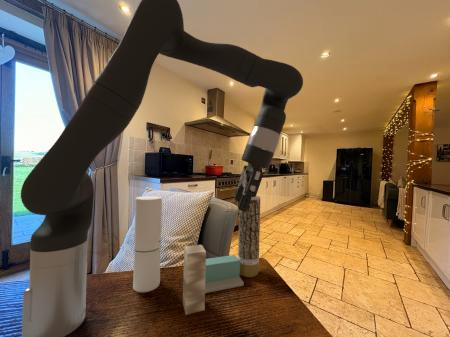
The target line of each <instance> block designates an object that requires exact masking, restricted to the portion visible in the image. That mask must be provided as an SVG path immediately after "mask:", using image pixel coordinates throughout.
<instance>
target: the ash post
mask: <svg viewBox="0 0 450 337" xmlns="http://www.w3.org/2000/svg"><path fill="white" fill-rule="evenodd" d="M206 259H207V252H206V249H205V248H204V246H203V245H202V244H195V245H194V244H193V245H186V246H184V247H183V276H182V277H183V280H182V282H183V284H182V305H183V309H184V314H185V316H186V315H190V314H194V313H199V312H203V311H205V310H206V309H205V308H206V306H205V305H206V302H205V301H206V293H205V273H206Z"/></svg>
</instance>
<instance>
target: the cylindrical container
mask: <svg viewBox="0 0 450 337" xmlns="http://www.w3.org/2000/svg"><path fill="white" fill-rule="evenodd" d="M134 206H135V208H134V210H135V213H134V239H133V240H134V243H133V245H134V246H133V248H134V249H133V272H132V273H133V279H132V280H133V282H132V288H133V290H134V291H135V292H137V293H147V292H148V293H149V292H151V291H153V290H156V289H157V288H158V287H159V286H160V283H161V255H162V254H161V250H162V249H161V248H162V217H163V216H162V213H163V212H162V211H163V209H162V208H163V197H162V196H160V195H159V196H158V195H144V196H136V197H135V205H134Z"/></svg>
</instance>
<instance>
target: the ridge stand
mask: <svg viewBox="0 0 450 337" xmlns="http://www.w3.org/2000/svg"><path fill="white" fill-rule="evenodd" d="M244 285H245V284H244V281H243V279H242V278H241V277H240V260H239V259H238V256H237V255H235V254H232V255H231V254H230V255H227V256H226V255H224V256H216V257H211V258H210V257H209V258H206V273H205V294H207V293H213V292H218V291H223V290H228V289H234V288H238V287H242V286H243V287H244Z"/></svg>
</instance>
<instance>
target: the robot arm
mask: <svg viewBox="0 0 450 337" xmlns="http://www.w3.org/2000/svg"><path fill="white" fill-rule="evenodd" d="M159 54H160V55H162V56H165V57H167V58H171V59H175V60H178V61H182V62H184V63H190V64H193V65H196V66H199V67H201V68H205V69H208V70H211V71H213V72H215V73H218V74H221V75H223V76H226V77H228V78H230V79H232V80H234V81H236V82H238V83H240V84H242V85H244V86H247V87H249V88H256V87H260V88H264V92H263V95H262V100H261V105H260V108H259V109H260V110H259V112H258V114H257V117H256V120H255V123H254V125H253V128H252V130H251V132H250V134H249V136H248V140H247V142H246V144H245V147H244V150H243V153H242V156H241V161H243V162H246V163H247V165H243V169H242V170H241V174H240V177H239V179H238V181H237V191H236V193H235V196H234V201H236V202H238V206H237V209H238V211H239V210H241V211H244V212H246V211H247V209H248V206H249V204H250V201H251V198H253V197H256V196H258V195H257V194H258V191H259V188H260V186H261V182H262V180H263V177H264V172H261V169H262V168H263V169H265V170H268V169H269V168H270V166H271V164H272V161H273V158H274V155H275V154H276V150H277V147H278V144H279V140H280V135H281V133H282V131H283V128H284V125H285V122H286V120H287V114H286V112H285V110H286V105H287V103H288V101H289V99H292V98H293V97H295V96H297V95H298V94H299V93H300V91H301V90H302V88H303V86H304V78H303V75H302V74H301V72H300V71H299V69H298V68H296V67H294V66H292V65H290V64H288V63H285V62H282V61H277V60H274V59H273V60H272V59H268V58H263V57H261V56H259V55H257V54H255V53H254V52H252V51H249V50H247V49H245V48H244V47H240V46H238V45H235V44H231V43H230V44H229V43H220V42H219V43H217V42H216V43H215V42H209V41H204V40H202V39H198V38H196V37H194V36H193V35H191V34H190V33H188V32H187V31H185V26H184V15H183V11H182V9H181V5H180V3H179V1H178V0H140V2H139V3H138V5H137V8H136V9H135V11H134V13H133V15H132V18H131V20H130V22H129V24H128V25H127V28H126V30H125V33H124V35H123V36H122V38H121V40H120V42H119V44H118V45H117V47H116V48H115V50H114V52H112V55H111V56H110V58H109V59H108V60H107V63H106V64H105V65H104V67H103V69H102V71H101V73H99V75H98V76H97V78H96V79H95V81H94V82H93V83H92V84H91V86H90V88H89V90H88V91H87V93H86V94H85V96H84V98H83V99H82V101H81V102H80V104H79V106H78V108H77V110H76V111H75V112H74V114H73V115H72V117H70V118H71V119H70V120H69V121H68V122H67V124H66V126H65V128H64V129H63V130H62V132H61V134H60V135H59V137H58V138H57V140H56V141H55V142H54V144H52V146H51V147H50V149H48V151H47V152H46V153H45V155H44V156H43V157H42V158H41V159H40V160H39V162H37V164H36V165H35V166H34V167H33V169H32V170H31V171H30V172H29V174H27V175H26V178H25V179H24V181H23V183H22V185H21V186H22V187H21V190H20V198H21V199H20V200H21V203H22V204H23V207H24V208H26V210H27V211H28V212H29V213H32V214H34V215H39V216H44V219H43V220H42V223H41V224H40V225H39V226H38V228H37V229H36V230H35V231H34V232H33V233H32V234H31V236H30V242H29V243H30V247H29V249H30V250H29V251H30V252H29V253H30V255H29V256H30V257H29V283H28V284H29V286H28V287H27V288H26V289H25V290H24V291H23V293H22V319H21V320H22V321H21V323H22V324H21V325H22V326H21V337H66V336H67V335H70V334H71V333H72V332H74V331H76V329H78V328H79V327H80V326H81V325H82V324H83V322H84V321H85V319H86V310H87V304H86V298H87V270H88V269H87V268H88V267H87V266H88V241H89V240H88V237H89V236H88V233H89V230H90V227H91V225H92V221H93V212H94V210H93V209H94V198H95V189H94V188H95V187H94V182H93V179H92V177H91V176H90V175H89V174H88V171H89V168H90V166H91V165H92V164H93V162H94V161H95V159H96V158H97V156H99V154H100V153H101V152H102V151H103V150H105V149H106V148H107V147H108V146H109V145H110V144H111V143H112V142H114V140H116V139H117V138H118V137H119V136H120V135H121V134H122V133H123V132H124V131H125V130H126V128H127V127H128V126H129V124H130V123H131V121H132V120H133V118H134V117H135V116H136V113H137V112H138V110H139V108H140V106H141V104H142V103H143V99H144V96H145V94H146V89H147V86H148V83H149V78H150V75H151V71H152V68H153V66H154V63H155V62H156V59H157V57H158V55H159ZM239 202H240V203H239Z"/></svg>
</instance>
